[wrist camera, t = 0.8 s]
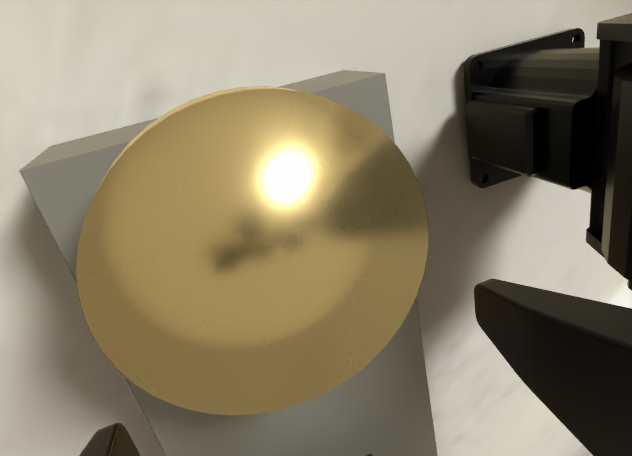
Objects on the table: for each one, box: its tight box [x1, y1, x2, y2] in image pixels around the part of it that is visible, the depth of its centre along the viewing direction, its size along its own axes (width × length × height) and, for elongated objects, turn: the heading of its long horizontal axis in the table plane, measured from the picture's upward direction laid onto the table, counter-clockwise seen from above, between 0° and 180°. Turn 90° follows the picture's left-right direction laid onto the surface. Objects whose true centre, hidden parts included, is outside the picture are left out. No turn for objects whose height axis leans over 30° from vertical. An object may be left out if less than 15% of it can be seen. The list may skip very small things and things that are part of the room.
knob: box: [76, 86, 429, 415], centre depth 15 cm, size 10×10×5 cm
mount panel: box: [20, 70, 437, 456], centre depth 21 cm, size 12×24×4 cm, turn 14°
